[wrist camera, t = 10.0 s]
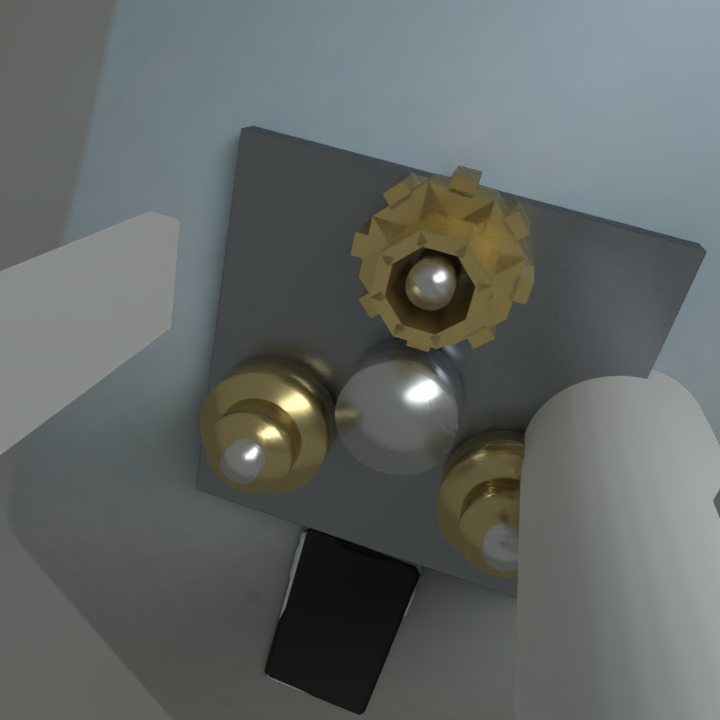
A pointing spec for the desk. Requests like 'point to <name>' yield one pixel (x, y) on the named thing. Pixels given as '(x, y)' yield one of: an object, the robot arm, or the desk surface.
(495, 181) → the desk surface
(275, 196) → the plate
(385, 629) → the smartphone
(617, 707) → the cylinder container
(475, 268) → the gear
